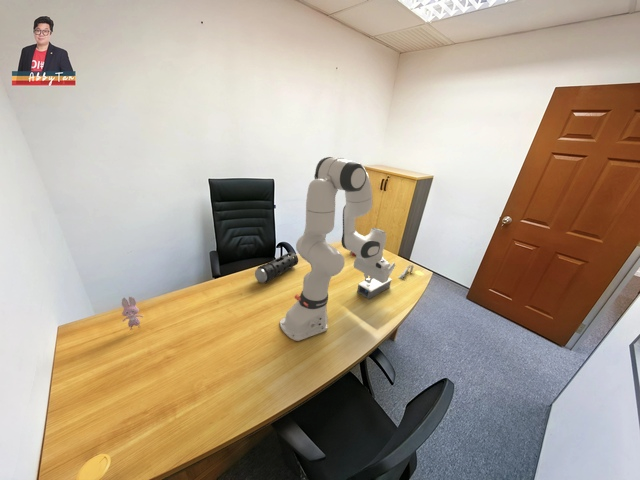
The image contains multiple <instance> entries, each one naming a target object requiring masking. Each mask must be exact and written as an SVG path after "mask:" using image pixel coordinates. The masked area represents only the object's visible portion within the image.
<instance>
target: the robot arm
mask: <svg viewBox="0 0 640 480" xmlns="http://www.w3.org/2000/svg"><path fill="white" fill-rule="evenodd" d="M369 176H370V175H369V174H368V172H367V171H366V169H365V166H364V165H363V164H362V163H360V162H359V161H356V160H350V159H346V158H344V157H333V156H332V157H331V156H328V157H324V158H321V159H320V160H319V162H318V163H317V164H316V167H315V172H314V179H313V180H312V181H311V182H309V184H308V189H307V193H306V200H305V201H306V202H305V203H306V204H305V227H304V231H303V235H301V236H300V237H299V238H298V240H297V241H296V244H295V249H296V251H297V253H298V254H299V256H300V258H302V259H303V260H304V261H305V262H307V263H308V264H309V265H310V267H311V270H310V271H309V272H307V273H306V274H305V275H304V276H303V282H302V283H303V284H302V290H301V293H300V295H299V294H297V293H296V294H295V295H294V299H295V300H296V302H295V303H294V304H293V305H292V306H291V307H290V308H289V309H288V310H287V311H286V314H285V316H284V317H282V319H280V321H279V327H280V329H281V330H282V332H283V333H284V334H285V335H286V336H287V337H288V338H290V339H291V340H292V341H296V342H297V341H298V342H299V341H302V340H305V339H307V338H311V337H312V336H316V335H318V334H321V333H324V332H326V331H328V321H329V318H328V312H327V309H328V308H327V304H328V300H329V293H328V292H329V286H330V282H331V279H332V277H335V276H337V275H339V274H340V273H341V272H342V270H343V269H344V266H345V256H344V255H343V254H342V253H341V252H340V251H339V250H338V249H337V248H336V247H334V246H332V245H331V244H329V243H327V241H326V237H327V235H328V234H330V233H331V232H332V231H333V230H334V228H335V220H336V218H335V217H336V195H337V194H338V191H344V195H345V205H344V207H343V209H342V236H341V246H342V247H343V248H344V249H345V250H347V251H349V252H350V253H351V252H353V253H355V254H356V256H355V259H354V262H353V268H354V269H355V270H357V271H359V272H361V273H363V277H364V281H366V282H367V283H369V284H370V283H371V280H372V279H376V280H377V281H379V282H381V283H385V282H387V281H388V278H390V275H389V268H388V267H390V265H391V263H390V262H389V261H387V260H386V259H385V257H384V256H383V255H384V249H385V246H386V242H387V232H386V231H384V230H382V229H381V228H380V229H379V228H375V227H373V228H372V227H371V229H370V231H369V233H368V234H366V235H362V234H361V233H359V232H358V231H357V230H356V219H357V218H361V217H363V216H366V215H367V214H368V213H369V212H370V211H371V210H372V208H373V200H374V199H373V190H372V184H371V180H370V177H369ZM369 278H370V279H369Z"/></svg>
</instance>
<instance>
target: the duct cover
mask: <svg viewBox="0 0 640 480" xmlns="http://www.w3.org/2000/svg"><path fill="white" fill-rule="evenodd" d="M368 278H369V279H370V277H368ZM390 281H391V282H392V281H393V279H392V278H391V277H389V278H388V281H387V282H385V283H381V282H379V281H377V280H376V279H372V280H371V283H370V284H369V283H367V282H366V281H365V280H363V281H361V282H358V285H360V286H361V287H363V288H365V289H366V290H368V291H370V292H372V291H374V290H376V289H377V288H379V287H381V286H383V285H385V284H387V283H388V282H390ZM358 285H357V286H358Z"/></svg>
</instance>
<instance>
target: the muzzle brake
mask: <svg viewBox="0 0 640 480" xmlns="http://www.w3.org/2000/svg"><path fill="white" fill-rule="evenodd" d="M298 264H299V257H298V255H297V254H296V253H295V252H293V251H290V252H287V253H286V254H283V255H281V256H279V257H278V258H275V259H273V260H271V261H269V262H266V263H265V264H261V265H260V266H257V268H256V269H255V270H254V277H255V279H256V281H257V282H258V283H259V284H264V283H268V282H270V281H271V280H273V279H274V278H276V277H277V276H279V275H281V274H283V273H285V272H286V271H288V270H289V269H291V268H293V267H295V266H296V265H298Z"/></svg>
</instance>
